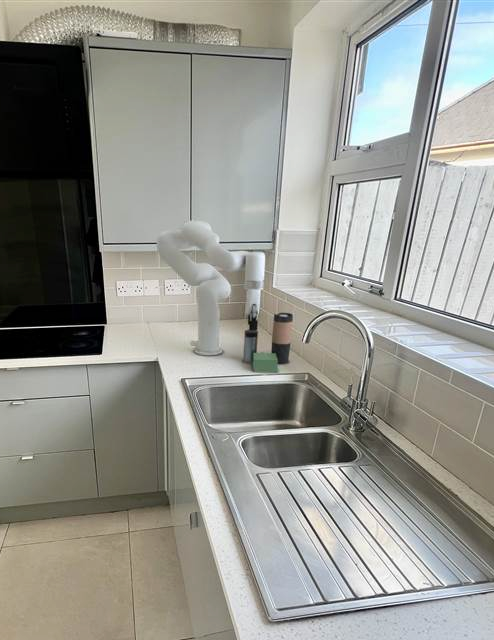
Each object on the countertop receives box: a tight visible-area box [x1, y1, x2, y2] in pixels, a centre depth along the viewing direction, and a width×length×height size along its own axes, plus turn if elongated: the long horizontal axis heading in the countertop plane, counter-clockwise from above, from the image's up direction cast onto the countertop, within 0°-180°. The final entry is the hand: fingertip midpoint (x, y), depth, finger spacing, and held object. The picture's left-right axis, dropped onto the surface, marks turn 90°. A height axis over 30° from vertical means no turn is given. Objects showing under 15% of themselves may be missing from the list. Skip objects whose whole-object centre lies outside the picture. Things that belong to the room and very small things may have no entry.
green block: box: [252, 352, 279, 373], centre depth 163 cm, size 9×9×5 cm
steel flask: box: [242, 329, 259, 364], centre depth 169 cm, size 5×5×13 cm
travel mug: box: [270, 312, 294, 365], centre depth 168 cm, size 8×8×20 cm
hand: (252, 327), depth 166 cm, fingers open, 9 cm apart
